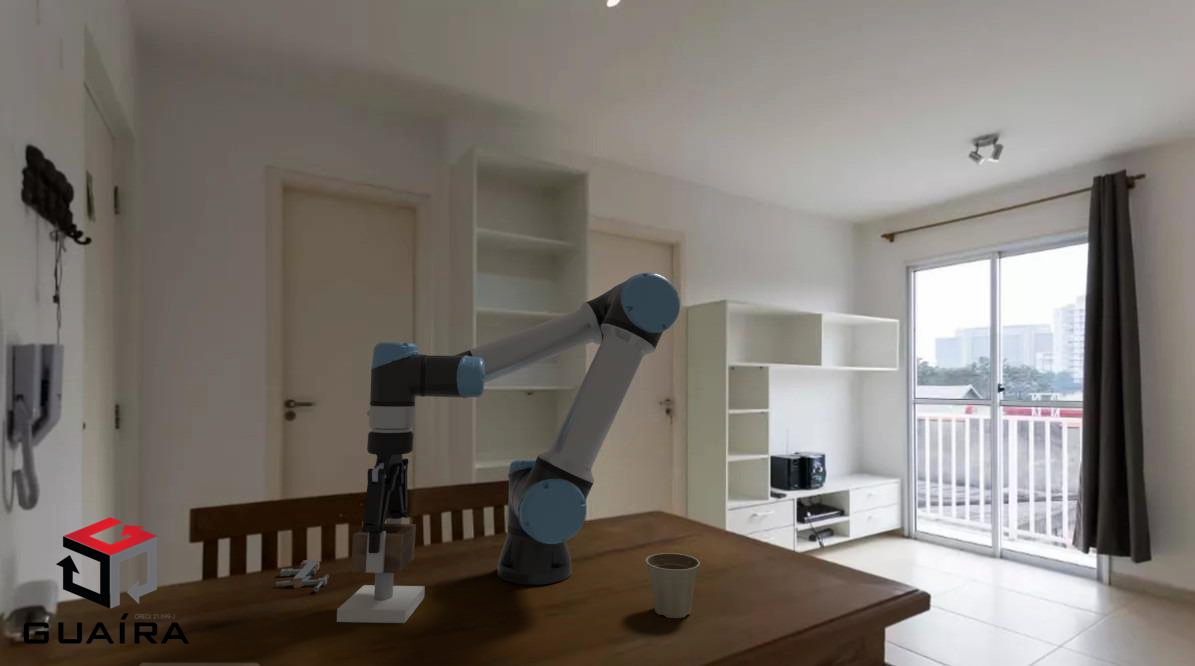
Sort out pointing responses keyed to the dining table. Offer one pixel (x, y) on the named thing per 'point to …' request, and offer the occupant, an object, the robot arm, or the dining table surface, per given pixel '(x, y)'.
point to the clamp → (304, 575)
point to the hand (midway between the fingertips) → (384, 563)
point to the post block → (381, 602)
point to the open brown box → (387, 548)
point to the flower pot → (672, 583)
